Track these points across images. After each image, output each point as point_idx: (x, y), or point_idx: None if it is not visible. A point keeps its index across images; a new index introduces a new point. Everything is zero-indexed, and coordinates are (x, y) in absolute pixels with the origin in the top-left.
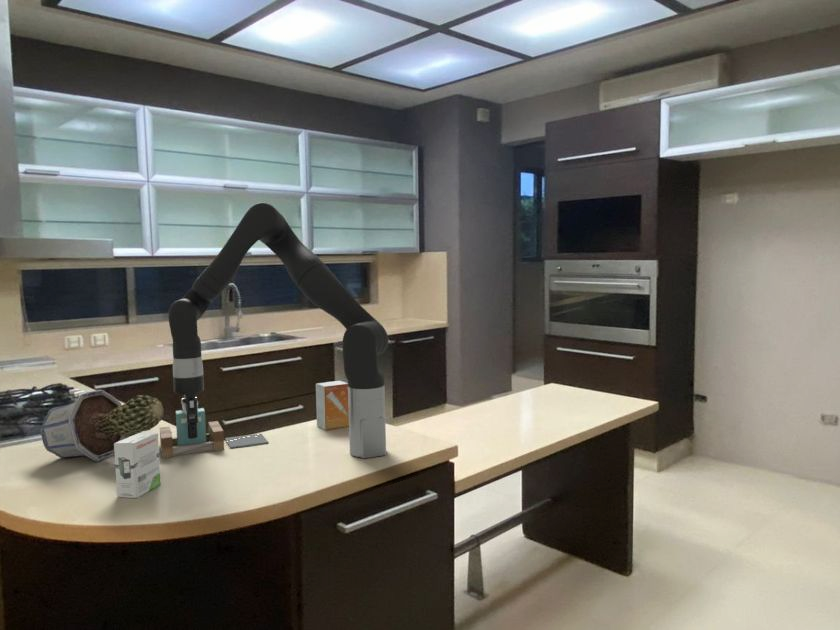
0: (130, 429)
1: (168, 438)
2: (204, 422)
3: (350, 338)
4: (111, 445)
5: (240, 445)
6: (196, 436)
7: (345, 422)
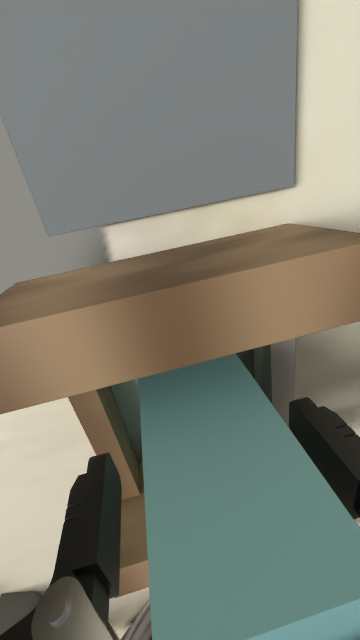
0: None
1: None
2: (291, 436)
3: None
4: None
5: (288, 104)
6: (309, 402)
7: None
